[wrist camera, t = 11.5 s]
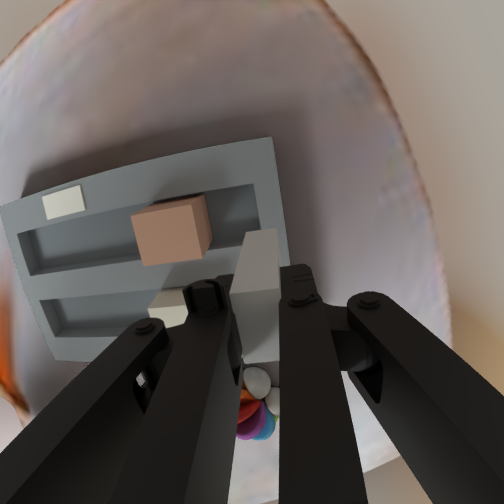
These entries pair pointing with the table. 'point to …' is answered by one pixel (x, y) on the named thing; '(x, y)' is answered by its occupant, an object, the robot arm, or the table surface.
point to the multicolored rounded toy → (257, 406)
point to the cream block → (169, 306)
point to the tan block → (173, 230)
